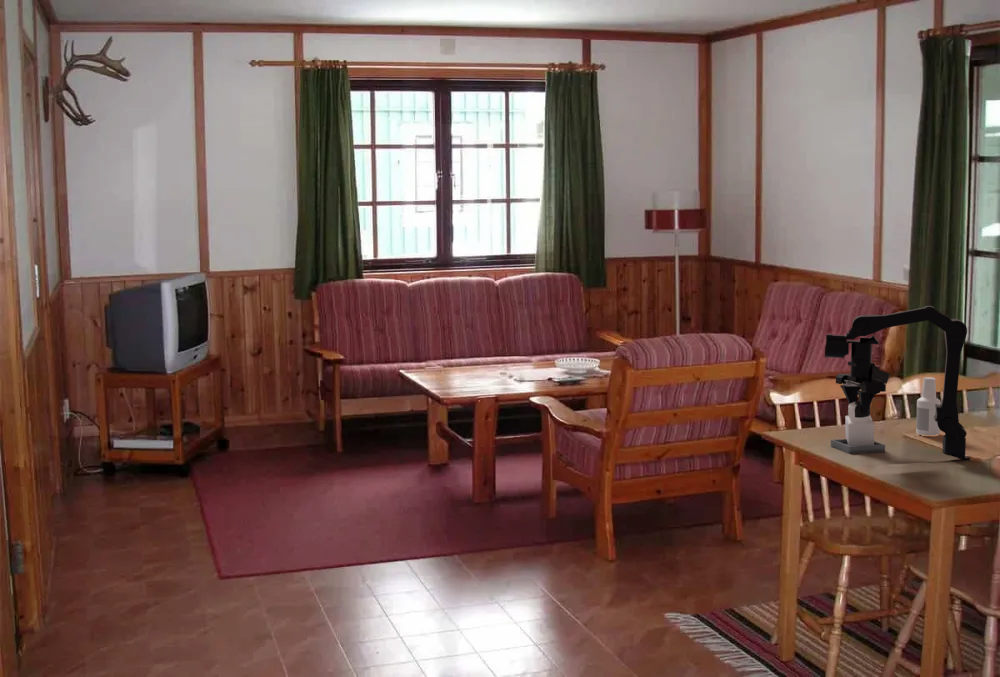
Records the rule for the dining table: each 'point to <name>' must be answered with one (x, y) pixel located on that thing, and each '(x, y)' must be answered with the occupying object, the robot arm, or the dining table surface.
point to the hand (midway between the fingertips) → (859, 411)
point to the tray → (857, 447)
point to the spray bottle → (927, 409)
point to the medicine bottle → (859, 426)
